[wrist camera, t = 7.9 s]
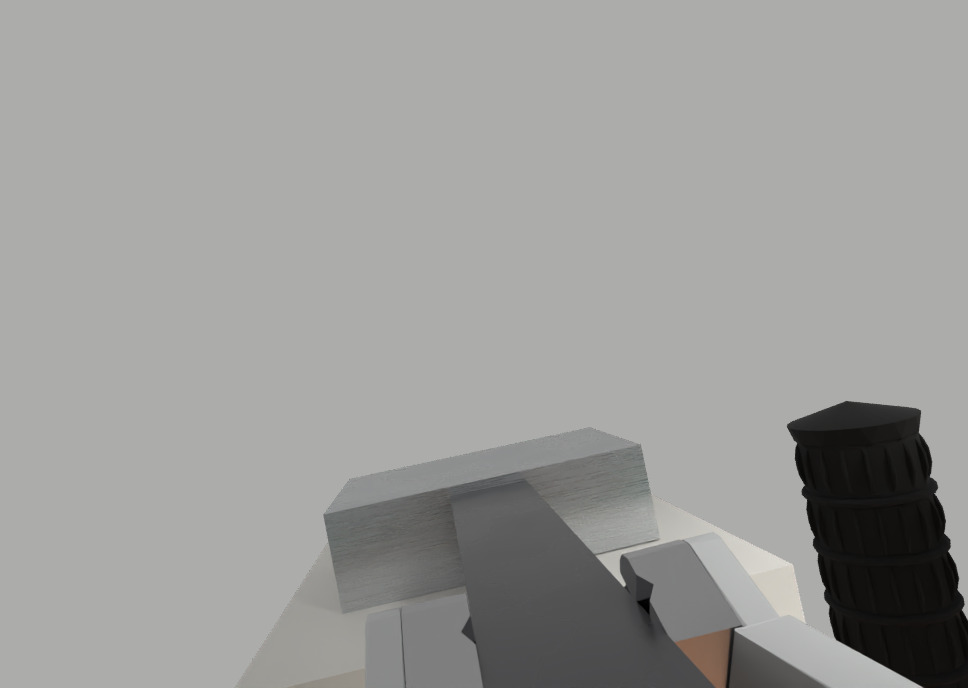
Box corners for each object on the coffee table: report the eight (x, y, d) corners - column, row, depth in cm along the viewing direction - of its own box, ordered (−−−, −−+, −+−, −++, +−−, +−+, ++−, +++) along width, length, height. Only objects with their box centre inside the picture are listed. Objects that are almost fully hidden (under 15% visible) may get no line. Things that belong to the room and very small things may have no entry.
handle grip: (1125, 929, 29) (979, 782, 39) (999, 389, 30) (888, 382, 40) (907, 946, 30) (819, 799, 40) (793, 425, 31) (736, 409, 41)
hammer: (604, 498, 25) (589, 427, 25) (1328, 1016, 5) (1239, 648, 5) (364, 553, 24) (349, 479, 24) (31, 1487, 4) (-49, 1016, 4)
